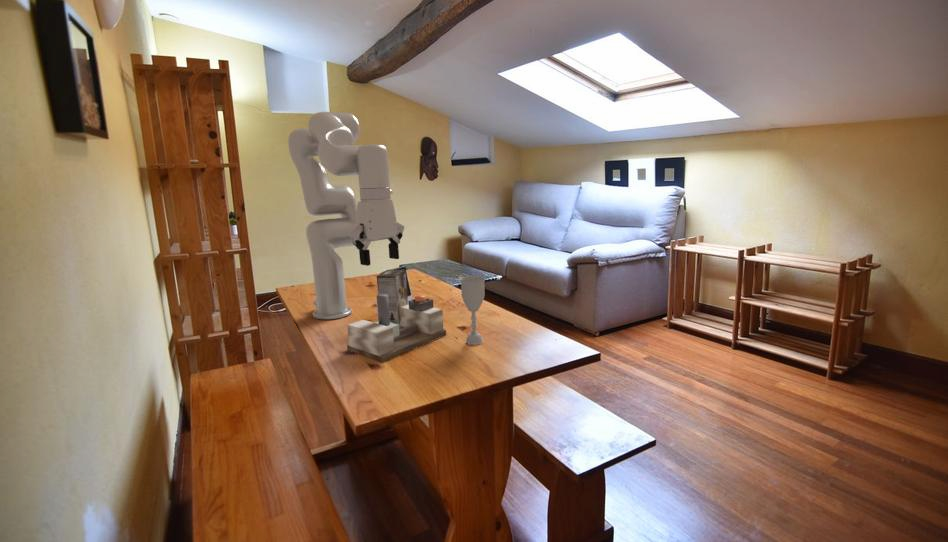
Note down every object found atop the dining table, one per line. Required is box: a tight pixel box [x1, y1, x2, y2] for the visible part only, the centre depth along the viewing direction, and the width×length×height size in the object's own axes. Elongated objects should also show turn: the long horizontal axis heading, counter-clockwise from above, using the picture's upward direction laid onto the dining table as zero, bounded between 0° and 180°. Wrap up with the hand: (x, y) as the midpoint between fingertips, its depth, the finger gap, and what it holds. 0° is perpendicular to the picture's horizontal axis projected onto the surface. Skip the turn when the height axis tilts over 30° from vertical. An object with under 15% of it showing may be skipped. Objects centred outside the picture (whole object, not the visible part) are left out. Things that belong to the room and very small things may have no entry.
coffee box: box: [376, 269, 409, 326], centre depth 151 cm, size 9×6×16 cm
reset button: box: [414, 294, 427, 303], centre depth 141 cm, size 3×3×2 cm
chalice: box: [458, 274, 487, 346], centre depth 133 cm, size 7×7×18 cm
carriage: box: [373, 294, 399, 338], centre depth 130 cm, size 7×4×11 cm, turn 51°
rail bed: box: [346, 297, 447, 363], centre depth 135 cm, size 14×24×10 cm, turn 141°
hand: (380, 261), depth 127 cm, fingers open, 9 cm apart
